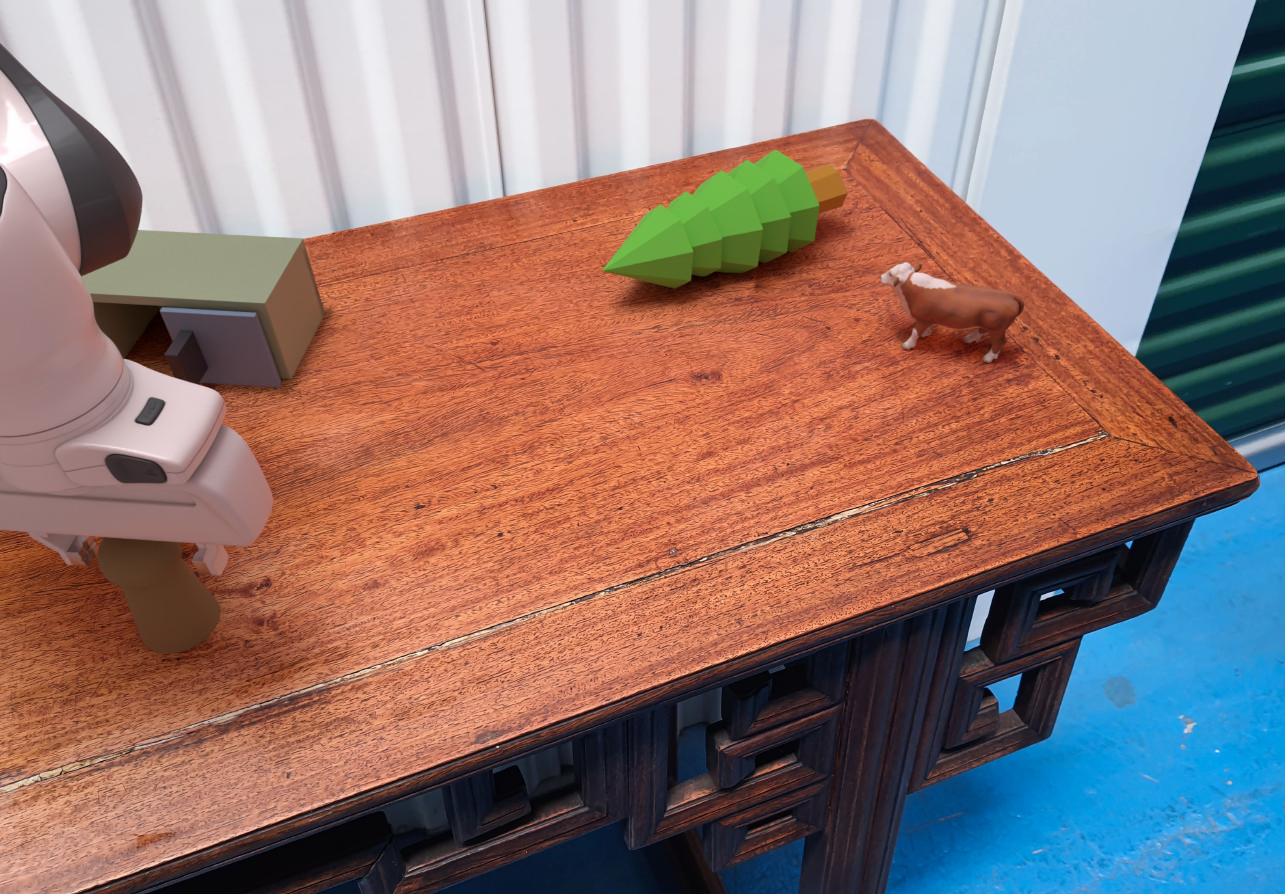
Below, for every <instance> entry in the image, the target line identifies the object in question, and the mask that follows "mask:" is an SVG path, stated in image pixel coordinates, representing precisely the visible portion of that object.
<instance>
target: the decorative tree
mask: <svg viewBox="0 0 1285 894" xmlns="http://www.w3.org/2000/svg"><path fill="white" fill-rule="evenodd" d="M847 196H848V190H847V186H845V183H844V181H843V178H842V175H841V174H840V171H839V170H838V169H836V168H835V167H833V166H832V165H830V164H823V165H818V166H815V167H814V168H812V169H810V170H807V171H806V170H805V168H804V166H803V165H801V164H800V163H798V162H797V161H795V160H793V159H792V158H790V157H789V156H787V155H785V154H784V153H782V152H780V151H778V150H777V149H773V150H772V151H771V152H769V153H767V154H766V155H765V156H763V157H762V158H760V159H758V160H757V161H755V162H754V163H753V162H751V160H748V159H746V160H744V161H743V162H742V163H740V164H738V165H737V166H735V167H734V168H733V169H731V170H730V171H728V172H727V173H726V171H724V170H722V169H720V170H719V171H718V172H717V173H715V174H713V175H712V176H711V177H709V178H708V179H706V180H705V181H704V182H702V183H701V184H699V186H698V187H697V189H695V191H694V192H693V193H692V194H691V193H690V192H689V191H687V190H685V191H684V192H682V193H681V194H679V195H678V196H677V197H675V198H674V199H673V200H671V201H670V202H669V204H668V205H667V207H665V206H663V205H662V204H661V203H660V204H658V205H657V206H655V207H654V208H653V209H651V210H650V211H648V212H647V213H645V214H644V216H643V217H642V218H641V219H640V221H639V222H638V223H637V224H636V226H635V227H634V229H633V230H632V231H631V232H630V233H629V235H628V236H627V238H625V240H624V242H623V243H622V244H621V245H620V247H618V249H617V251H616V252H615V253H614V254H613V256H612V257H611V258H610V259H609V261H608V262H607V264H606V265H605V266H604V268H603V269H602V270H601V272H603V273H604V272H605V273H609V274H613V275H617V276H620V277H625V278H629V279H634V280H638V281H641V282H646V283H650V284H654V285H659V286H661V287H667V288H671V289H677V288H679V287H681V286H684V285H685V284H687V283H689V282H691V281H692V275H693V276H697V277H698V276H699V277H703V278H705V277H707V276H709V275H711V274H712V273H714V272H717V273H730V274H731V273H732V274H744V273H747V272H748V271H751V270H753V269H755V268H757V267H758V265H759V262H760V263H763V264H766V263H768V262H770V261H773V260H775V259H777V258H778V257H781V256H783V255H784V254H787V252H790V253H793V252H795V251H797V250H799V249H801V248H803V247H805V246H808V245H810V244H812V243H814V242H815V240H816V233H817V226H818V220H819V215H820V214H822V213H826V212H829V211H832V210H835V209H839V208H842V207H843V205H844V203H845V201H846V198H847Z"/></svg>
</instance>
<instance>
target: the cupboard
mask: <svg viewBox="0 0 1285 894" xmlns="http://www.w3.org/2000/svg"><path fill="white" fill-rule="evenodd" d="M306 247H307V246H306V243H305V240H304V238H303V237H287V236H285V237H283V236H267V235H266V236H264V235H247V234H246V235H245V234H227V233H226V234H225V233H208V232H207V233H205V232H186V231H167V230H147V229H145V230H144V229H138V232H137V235H136V238H135V240H134V243H133V245H132V247H131V250H130V252H129V254H128V255H127V256H126V257H125V258H123V259H121V260H119V261H116V262H114V263H112V264H109V265H107V266H105V267H102V268H100V269H98V270H95V271H93V272H91V273H88V274H86V275H84V276H81V277H82V279H83V281H84V283H85V285H86V287H87V289H88V291H89V293H90V295H91V298H92V301H93V306H94V316H95V320H96V323H97V325H98V327H99V328H100V330H101V331H102V332H103V333H104V334H105V335H106V336H107V337H108V338H109V339H110V340H111V341H112V342H113V343H114V344H115V346H116V347H117V349H118V350H119V352H120V354H121V356H122V358H123V359H126V357H127V356H128V354H129V353H130V352H131V350H132V349H133V348H134V346H135V345H136V343H137V342H138V340H139V339H140V337H141V336H142V335H143V333H144V332H145V330H146V329H147V328H148V326H149V325H150V323H151V322H152V321H153V319H154V317H155V316H156V315H157V314H158V312H159V311H160V310H161V309H162V308H163V307H164V308H182V309H199V310H217V311H234V312H252V313H257V316H258V318H259V321H260V324H261V327H262V330H263V332H264V335H265V338H266V341H267V344H268V346H269V349H270V352H271V355H272V357H273V360H274V363H275V366H276V369H277V371H278V374H279V377H280V380H292V379H293V378H294V375H295V373H296V371H297V369H298V368H299V366H300V364H301V361H302V360H303V358H304V355H305V353H306V352H307V350H308V348H309V346H310V344H311V342H312V340H313V338H314V337H315V334H316V332H317V330H318V328H319V327H320V324H321V322H322V321H323V318H324V317H325V315H326V312H325V307H324V305H323V301H322V298H321V294H320V292H319V287H318V284H317V281H316V277H315V274H314V272H313V271H314V270H313V268H312V264H311V261H310V257H309V254H308V250H307V248H306Z"/></svg>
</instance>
